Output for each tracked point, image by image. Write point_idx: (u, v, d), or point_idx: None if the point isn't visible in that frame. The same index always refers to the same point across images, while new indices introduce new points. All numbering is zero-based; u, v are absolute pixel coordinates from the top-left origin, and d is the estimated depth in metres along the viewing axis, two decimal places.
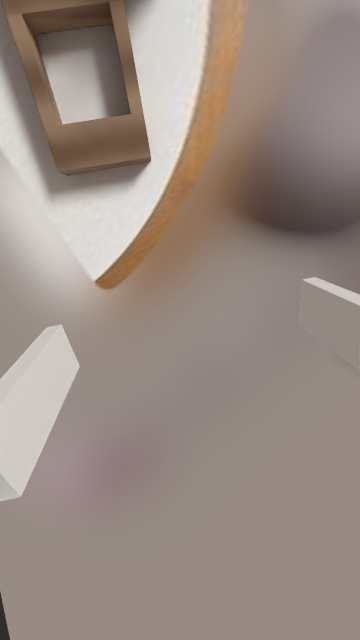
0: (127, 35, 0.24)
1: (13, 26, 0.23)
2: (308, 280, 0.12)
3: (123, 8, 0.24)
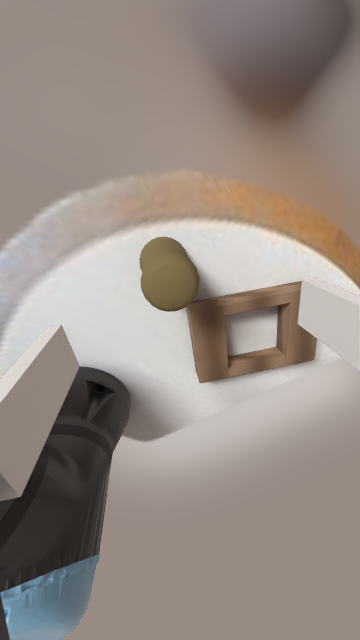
0: (243, 302, 0.29)
1: (233, 374, 0.34)
2: (308, 280, 0.12)
3: (228, 305, 0.29)
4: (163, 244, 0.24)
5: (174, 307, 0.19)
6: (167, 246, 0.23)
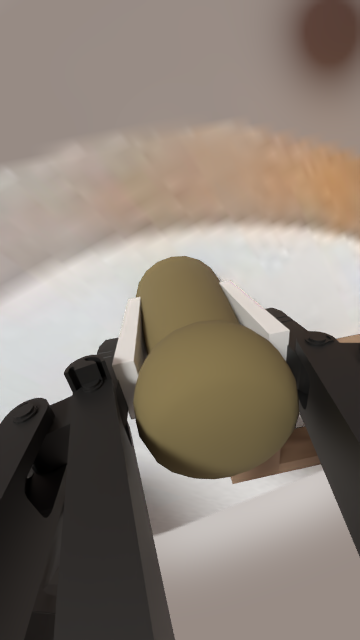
0: None
1: (286, 469, 0.21)
2: (222, 282, 0.14)
3: None
4: (184, 277, 0.12)
5: (227, 476, 0.07)
6: (194, 283, 0.11)
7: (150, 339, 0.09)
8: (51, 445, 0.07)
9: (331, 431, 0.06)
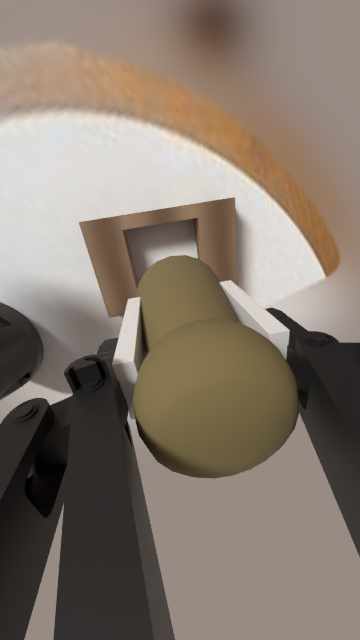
0: (141, 214, 0.26)
1: None
2: (222, 283, 0.14)
3: (124, 216, 0.25)
4: (184, 276, 0.12)
5: (227, 475, 0.07)
6: (193, 282, 0.11)
7: (150, 338, 0.09)
8: (51, 445, 0.07)
9: (331, 431, 0.06)
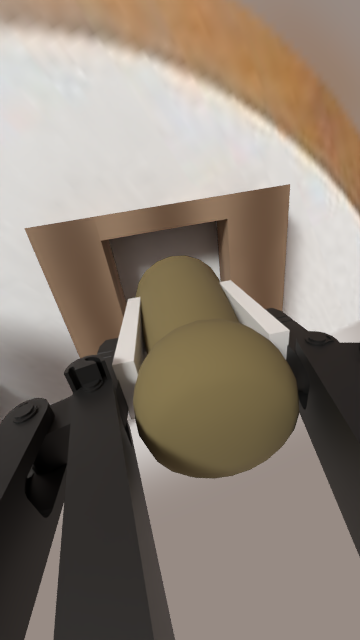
0: (132, 214, 0.15)
1: None
2: (222, 283, 0.14)
3: (102, 217, 0.15)
4: (184, 276, 0.12)
5: (227, 475, 0.07)
6: (194, 282, 0.11)
7: (150, 338, 0.09)
8: (51, 445, 0.07)
9: (331, 431, 0.06)
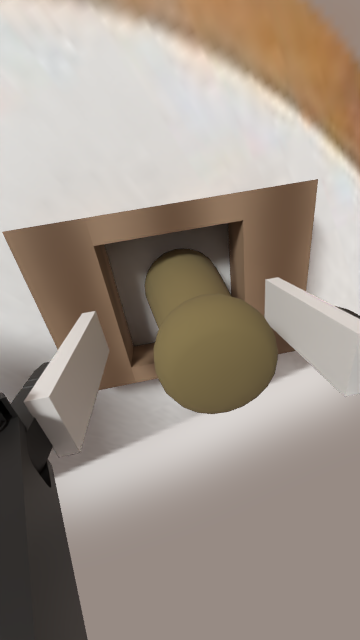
0: (131, 215, 0.13)
1: (144, 377, 0.18)
2: (270, 280, 0.13)
3: (95, 219, 0.13)
4: (188, 265, 0.14)
5: (224, 410, 0.09)
6: (196, 269, 0.13)
7: (162, 314, 0.12)
8: None
9: None
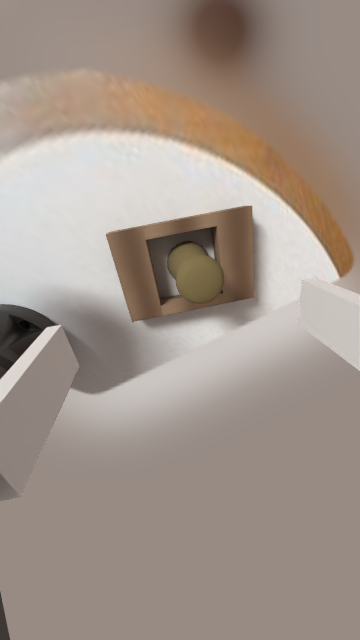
0: (163, 224, 0.27)
1: (167, 312, 0.32)
2: (308, 280, 0.12)
3: (147, 227, 0.27)
4: (190, 247, 0.28)
5: (204, 300, 0.24)
6: (194, 249, 0.28)
7: (178, 268, 0.26)
8: None
9: None
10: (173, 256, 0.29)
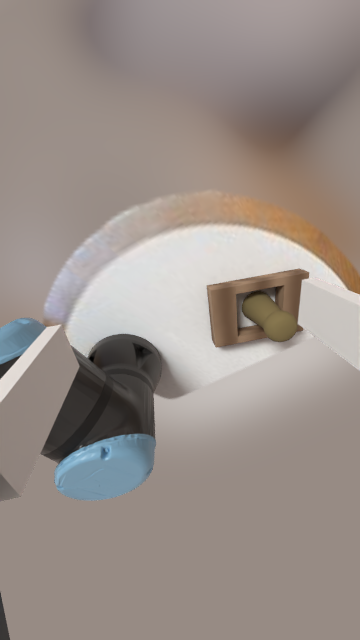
0: (249, 284, 0.40)
1: (241, 341, 0.45)
2: (308, 280, 0.12)
3: (238, 286, 0.40)
4: (265, 299, 0.41)
5: (284, 340, 0.36)
6: (269, 301, 0.40)
7: (261, 315, 0.39)
8: None
9: None
10: (251, 303, 0.42)
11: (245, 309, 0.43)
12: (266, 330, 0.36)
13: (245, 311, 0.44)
